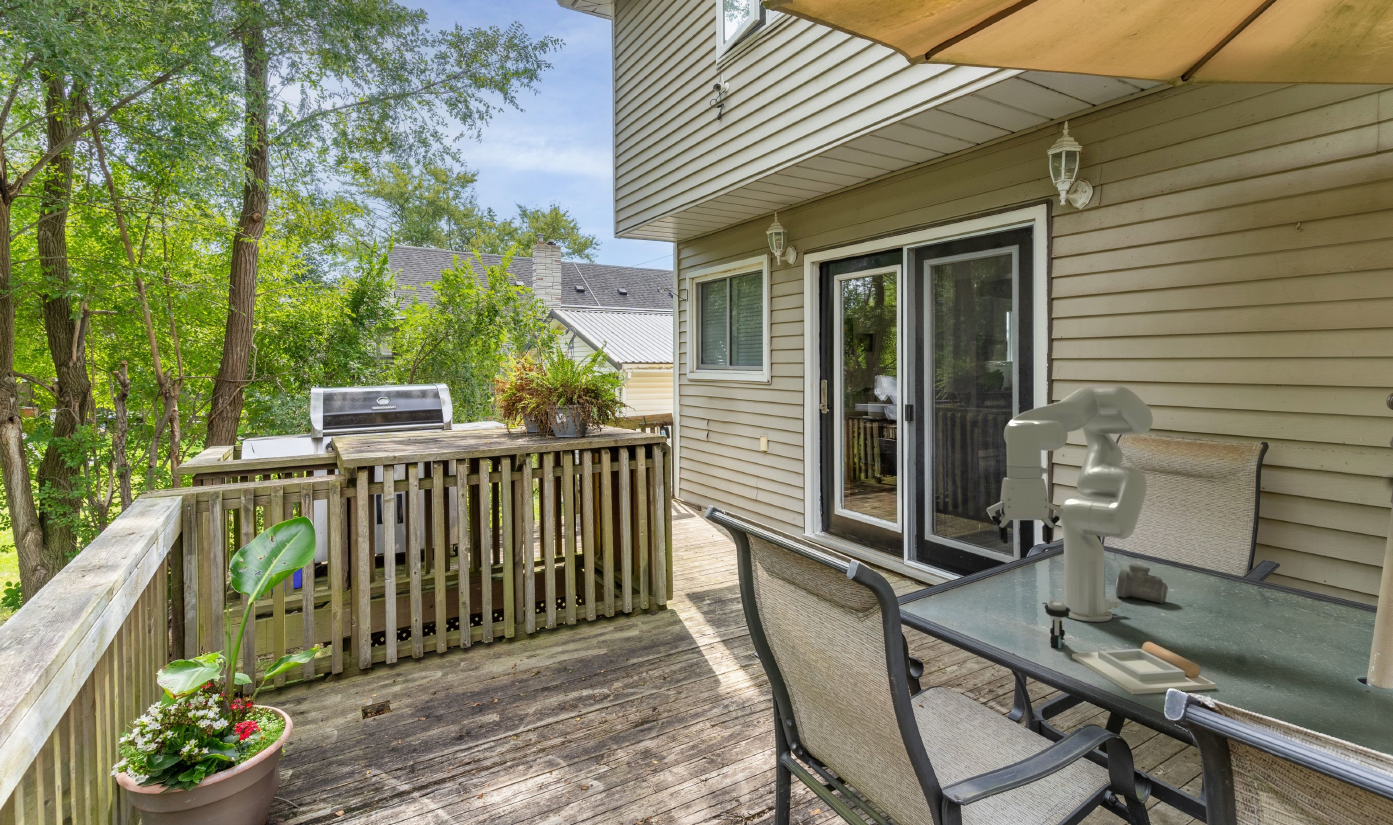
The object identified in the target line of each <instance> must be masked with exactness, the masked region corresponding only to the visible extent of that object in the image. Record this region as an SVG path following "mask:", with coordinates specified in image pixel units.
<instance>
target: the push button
mask: <svg viewBox="0 0 1393 825" xmlns="http://www.w3.org/2000/svg"><path fill="white" fill-rule="evenodd" d="M1044 609H1045V613H1046V614H1047V615H1049V617H1051V618H1052V625H1051V626H1052V627H1050V629H1049V634H1050V640H1049V642H1050V647H1051V648H1054V649H1062V645H1063V646H1064V647H1065V646H1066V644H1065V643H1066V638H1065V637H1064V636H1066V634H1065V633H1066V631H1065V629H1063V621H1062V619H1065V618H1069V617H1068V616H1069V612H1070V608H1068V607H1066V604H1065V603H1064V602H1061V601H1056V600H1055V601H1048V603H1047V604H1045V605H1044ZM1063 643H1064V644H1063Z"/></svg>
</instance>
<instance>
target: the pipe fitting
mask: <svg viewBox="0 0 1393 825" xmlns="http://www.w3.org/2000/svg"><path fill="white" fill-rule="evenodd" d="M1128 568H1129V570H1126V569H1124V568H1123V569H1122V568H1121V569H1120V570H1119V572H1118V576H1117V579H1116V585H1115V586H1116V588H1115V589H1116V590H1115V595H1116V597H1119V598H1123V599H1125V598H1128V597H1134V598H1138V599H1140V600H1141V599H1142V600H1145V601H1150V602H1153V603H1156V604H1157V603H1158V604H1164V603H1165V602H1166V600H1167V596H1168V590H1169V587H1168V585H1167V583H1166V582H1163V579H1162V578H1161V576H1157V575H1151V574H1149V573H1150V570H1151V568H1150V567H1149V566H1146V565H1143V564H1137V563H1133V562H1131V563H1128Z"/></svg>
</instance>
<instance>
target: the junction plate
mask: <svg viewBox="0 0 1393 825" xmlns="http://www.w3.org/2000/svg"><path fill="white" fill-rule="evenodd" d="M1071 658H1072V659H1073V660H1075V661H1076V662H1078V663H1079V664H1081V665H1082V666H1085V667H1086V668H1088V669H1090V670H1092V671H1093V672H1095V673H1096V674H1099V675H1100V676H1101V677H1103V678H1104V679H1106V680H1108V681H1109V682H1111V683H1113V684H1115V685H1117V686H1118V687H1120V688H1121V689H1123V690H1125V691H1127V692H1128V693H1130V694H1131V695H1141V694H1142V695H1144V694H1158V693H1167V692H1166V690H1168V689H1169V688H1175V689H1179V690H1182V691H1181V692H1188V691H1189V692H1190V691H1205V690H1215V689H1217V684H1216V683H1215V682H1213V681H1211V680H1209V679H1207V678H1205V677H1203V676H1202V675H1201V671H1202V670H1201V668H1202V667H1201V666H1200V665H1199V664H1197V663H1195V662H1194V661H1191V660H1189V659H1187V658H1185V657H1183V656H1180V655H1178V654H1177V653H1174V652H1173V651H1170V650H1168V649H1166V648H1164V647H1162V646H1160V645H1157V644H1155V643H1154V642H1152V641H1146V642H1144V643H1143V644H1142V647H1141V648H1130V649H1118V650H1117V649H1114V650H1100V651H1093V652H1092V651H1091V652H1078V653H1077V652H1076V653H1072V654H1071ZM1164 691H1165V692H1164Z"/></svg>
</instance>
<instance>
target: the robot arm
mask: <svg viewBox="0 0 1393 825" xmlns="http://www.w3.org/2000/svg"><path fill="white" fill-rule="evenodd" d="M1153 418H1154V417H1153V413H1152V410H1151V409H1150V407H1149V406H1148V405H1147V403H1145V402H1144V401H1143V400H1142V399H1141V398H1140V397H1139V396H1138V395H1137V394H1136V393H1134V392H1133V391H1132V390H1131V389H1129V388H1127V387H1125V386H1122V385H1101V386H1100V385H1091V386H1089V385H1088V386H1084V387H1081V388H1078V389H1077V390H1074V392H1072V393H1070V394H1069V395H1067V396H1066V397H1064V398H1063V399H1061V400H1060V401H1057V402H1055V403H1054V402H1053V403H1051V404H1046V405H1043V406H1039V407H1036V408H1032V409H1029V410H1026V411H1023V412H1021V413H1019V414H1018V415H1016V416H1015V417H1013V418H1011V419H1010V420H1009V421H1008V423H1007V424H1006V425H1005V427H1004V429H1003V430H1004V431H1003V439H1004V441H1005V443H1006V444H1005V445H1006V477H1003V479H1002V483H1001V491H1000V501H998V502H997V503H995V504H993V505H991V506H988V507H987V508H986V512H987V513H988V514H987V515H988V516H989V517H990V519H991V520H992V521H993V522H994V523H995V524H996V525H997V526H998V539H999V540H1000V542H1001V543H1003V544H1004V545H1006V544H1009V543H1008V540H1009V539H1008V527H1006V526H1007V524H1008V523H1009V522H1010V521H1041V522H1042V523H1043V524H1042V526H1041V531H1042V532H1041V533H1042V537H1041V538H1042V542H1043V543H1045V544H1046V545H1051V540H1052V539H1053V528H1054V526H1055V525H1056V524H1057V523H1058V522H1059V521H1060V525H1061V529H1062V536H1063V538H1062V539H1063V578H1064V579H1063V588H1064V589H1063V590H1064V592H1063V594H1064V595H1063V596H1064V597H1063V598H1064V599H1063V603H1065V604H1066V607H1068V608H1070V612H1069V616H1068V617H1067V618H1070V619H1073V620H1077V621H1083V622H1094V623H1098V622H1100V623H1101V622H1102V623H1103V622H1108V621H1110V620H1112V619H1113V612H1112V611H1111V609H1112V608H1115V609H1116V608H1122V607H1123V602H1122V600H1120V599H1115V600H1113V599H1112V600H1111V599H1110V598H1109V597H1108V598H1106V553H1105V549H1104V546H1103V544H1102V542H1101V540H1100V539H1099V537H1104V538H1110V539H1117V540H1118V539H1119V540H1125V539H1126V540H1127V539H1128V538H1130V537H1132V535H1133V533H1134V532H1135V529H1136V527H1137V523H1138V520H1139V516H1140V514H1141V511H1142V508H1143V504H1144V501H1145V498H1146V494H1147V488H1148V487H1147V486H1148V485H1147V478H1146V476H1145V474H1144V473H1143V472H1142V471H1141V470H1140V469H1139V468H1136V467H1132V466H1124V465H1122V461H1123V458H1124V457H1123V456H1124V454H1123V450H1122V449H1121V447H1120V445H1119V444H1118V443H1117V442H1116V441H1115V440H1114V439H1113V437H1112V436H1111V435H1133V436H1135V435H1137V436H1139V435H1144V434H1145V433H1147V432H1148V431H1150V430H1151V428H1152V426H1153V421H1154V419H1153ZM1080 429H1082V430H1083V433H1084V437H1085V441H1086V445H1087V446H1086V447H1087V451H1086V454H1085V458H1084V460H1083V463H1082V466H1081V469H1080V472H1079V474H1078V478H1077V481H1076V489H1077V491H1078V492H1077V493H1078V494H1080V495H1082V496H1083V497H1071V498H1067V499H1066V500H1064V501H1063V502H1062V503H1061V504H1060V506H1059V505H1058V506H1057V505H1055V504H1053V503H1051V502H1050V501H1049V496H1048V490H1047V484H1046V481H1045V478H1043V475H1045V474H1046V475H1047V474H1048V473H1049V471H1048V468H1047V467H1043V466H1042V451H1051V452H1054V451H1058V450H1060V449H1061V448H1063V447H1064V446H1065V445H1066V443H1067V441H1068V436H1069V435H1068V434H1069V433H1071V432H1075V431H1078V430H1080ZM1050 510H1053V511H1054V513H1053V515H1051V517H1049V516H1050ZM997 511H999V512H1000V513H999V514H1001V516H1000V518H999V517H998V516H997V515H996V512H997Z"/></svg>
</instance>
